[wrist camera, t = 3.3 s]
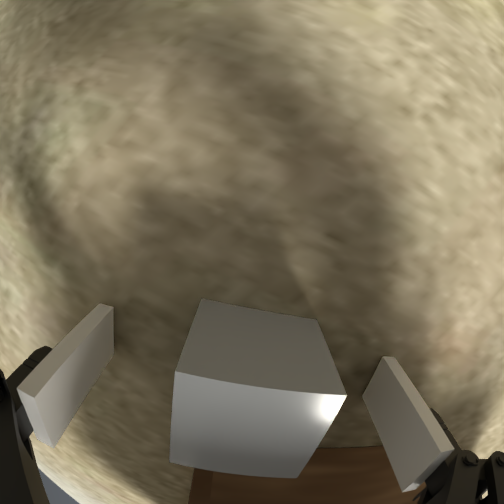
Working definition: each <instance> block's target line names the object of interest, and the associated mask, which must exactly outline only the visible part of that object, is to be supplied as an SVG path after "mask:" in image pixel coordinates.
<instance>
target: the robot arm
mask: <svg viewBox="0 0 504 504" xmlns="http://www.w3.org/2000/svg"><path fill="white" fill-rule="evenodd" d="M113 355H114V307H111V306H108V305H105V304H101V303H99V304H98V305H97V306H96V307H95V308H94V309H93V310H92V311H91V312H90V313H89V314H88V315H87V316H86V317H84V318H83V319H82V320H81V321H80V322H79V323H78V324H77V325H76V326H75V327H74V328H73V329H72V330H71V331H70V332H69V333H68V334H67V335H66V336H65V337H64V338H63V339H62V340H61V341H60V342H59V343H58V344H57V345H56V346H55V347H54V348H53V349H52V348H50V347H48V346H44V347H42V348H39V349H37V350H35V351H34V352H33V353H32V354H31V355H30V356H29V357H28V359H26V360H25V361H24V362H23V364H21V365H20V366H19V367H18V368H17V369H16V370H15V371H14V372H13V373H12V374H11V375H10V376H9V377H8V378H7V379H6V380H5V377H4V374H3V372H2V371H1V369H0V504H50V503H49V500H48V498H47V495H46V492H45V489H44V486H43V483H42V480H41V477H40V473H39V470H38V467H37V463H36V460H35V456H34V452H33V448H32V444H31V440H30V438H29V436H30V435H31V433H32V432H33V431H34V433H35V436H36V438H37V440H39V441H41V442H43V443H45V444H46V445H48V446H50V447H52V448H55V446H56V444H57V443H58V441H59V439H60V438H61V436H62V434H63V433H64V431H65V429H66V428H67V426H68V424H69V423H70V421H71V420H72V418H73V416H74V415H75V413H76V412H77V410H78V408H79V407H80V405H81V404H82V402H83V401H84V399H85V397H86V396H87V394H88V393H89V391H90V390H91V388H92V387H93V385H94V384H95V382H96V381H97V379H98V378H99V376H100V375H101V373H102V372H103V370H104V369H105V367H106V366H107V364H108V363H109V361H110V360H111V358H112V357H113ZM362 398H363V400H364V402H365V405H366V407H367V409H368V411H369V414H370V416H371V418H372V421H373V423H374V425H375V428H376V430H377V432H378V435H379V437H380V439H381V442H382V444H383V446H384V449H385V451H386V454H387V456H388V458H389V461H390V463H391V466H392V468H393V471H394V473H395V476H396V478H397V481H398V483H399V486H400V488H401V491H402V492H407V491H411V490H415V489H417V488H418V487H419V486H420V485H421V484H422V483H423V482H424V481H425V483H426V487H425V488H424V489H423V490H422V491H421V492H420V493H419V494H417V495H416V496H415V497H414V499H413V500H412V501H415V500H416V499H417V498H418V497H420V498H419V501H418V502H417V503H418V504H504V453H503V452H500V451H495V452H494V453H493V454H492V455H491V456H490V457H489V458H488V459H479V458H478V457H477V456H476V454H475V453H473V452H471V451H468V450H461V449H460V447H459V446H458V444H457V442H456V441H455V439H454V438H453V436H452V434H451V433H450V431H449V430H447V429H448V428H447V427H446V425H445V424H444V422H443V420H442V419H441V417H440V416H439V415H438V414H437V413H436V412H435V411H434V410H433V409H432V408H430V409H429V407H428V406H427V404H426V403H425V401H424V400H423V398H422V397H421V395H420V394H419V392H418V391H417V389H416V388H415V386H414V385H413V383H412V382H411V380H410V379H409V377H408V376H407V374H406V373H405V371H404V370H403V369H402V367H401V366H400V364H399V363H398V361H397V360H396V358H395V357H388V356H382V358H381V360H380V362H379V365H378V367H377V369H376V371H375V373H374V375H373V377H372V378H371V380H370V382H369V384H368V386H367V388H366V390H365V392H364V394H363V395H362ZM487 490H488V495H487V496H486V497H485V498H484V499H482V495H483V494H484V493H485V492H486V491H487Z"/></svg>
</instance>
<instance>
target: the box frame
mask: <svg viewBox="0 0 504 504" xmlns="http://www.w3.org/2000/svg"><path fill="white" fill-rule="evenodd" d="M425 487H426V483H425V481H424V482H423V483H422V484H421V485H420V486H419V487H418V488H417V489H415V490H411V491H407V492H402V491H401V488H400V486H399V483H398V481H397V478H396V476H395V473H394V471H393V468H392V466H391V463H390V461H389V458H388V456H387V454H386V451H385V449H384V446H374V447H358V448H316V450H315V452H314V453H313V455H312V456H311V458H310V459H309V461H308V462H307V464H306V465H305V467H304V468H303V470H302V471H301V473H300V474H299V476H298V477H297V478H274V477H259V476H248V475H239V474H231V473H223V472H216V471H210V470H204V469H199V468H194V473H193V479H192V485H191V490H190V496H189V502H188V504H418V503H417V502H418V501H419V498H420V497H418V498H417V499H416V500H415V501H412V500H413V499H414V497H415V496H416V495H417V494H419V493H420V492H421V491H422V490H423V489H424V488H425Z"/></svg>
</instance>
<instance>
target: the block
mask: <svg viewBox="0 0 504 504" xmlns="http://www.w3.org/2000/svg"><path fill="white" fill-rule="evenodd" d="M346 396H347V394H346V391H345V389H344V386H343V384H342V381H341V378H340V376H339V373H338V371H337V368H336V366H335V363H334V361H333V358H332V356H331V353H330V351H329V348H328V346H327V343H326V341H325V338H324V336H323V333H322V331H321V329H320V326H319V324H318V321H317V320H316V319H310V318H304V317H297V316H292V315H286V314H280V313H274V312H269V311H263V310H258V309H253V308H247V307H242V306H237V305H232V304H227V303H222V302H217V301H212V300H208V299H203V298H201V301H200V304H199V306H198V309H197V312H196V315H195V317H194V320H193V323H192V325H191V328H190V331H189V334H188V336H187V339H186V342H185V345H184V347H183V350H182V353H181V356H180V358H179V361H178V364H177V367H176V370H175V377H174V389H173V402H172V416H171V433H170V455H169V462H170V463H175V464H179V465H184V466H188V467H193V468H199V469H204V470H210V471H216V472H223V473H231V474H239V475H248V476H259V477H274V478H297V477H298V476H299V474H300V473H301V471H302V470H303V468H304V467H305V465H306V464H307V462H308V461H309V459H310V458H311V456H312V455H313V453H314V452H315V450H316V448H317V447H318V445H319V444H320V442H321V440H322V439H323V437H324V435H325V434H326V432H327V430H328V429H329V427H330V425H331V424H332V422H333V420H334V418H335V416H336V415H337V413H338V411H339V409H340V407H341V406H342V404H343V402H344V400H345V398H346Z"/></svg>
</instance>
